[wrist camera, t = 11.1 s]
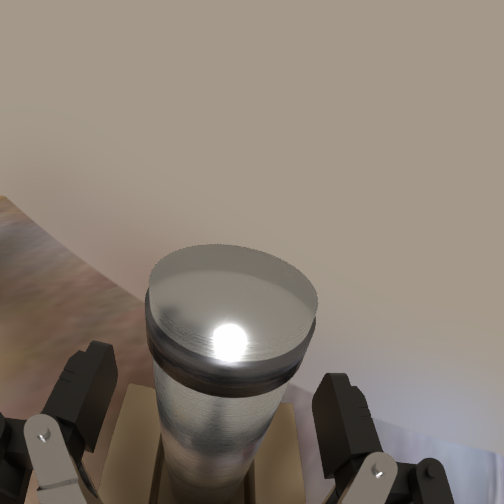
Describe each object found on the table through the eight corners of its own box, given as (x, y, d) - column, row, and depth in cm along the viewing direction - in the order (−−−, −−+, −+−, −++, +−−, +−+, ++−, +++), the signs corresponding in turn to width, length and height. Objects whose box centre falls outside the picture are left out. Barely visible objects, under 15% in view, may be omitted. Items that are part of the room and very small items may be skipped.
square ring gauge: (110, 541, 8) (88, 531, 6) (137, 418, 17) (129, 382, 15) (285, 559, 9) (312, 554, 7) (275, 436, 18) (292, 403, 16)
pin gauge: (167, 512, 11) (117, 326, 4) (173, 460, 14) (167, 234, 8) (234, 519, 11) (342, 353, 5) (235, 467, 15) (305, 254, 8)
